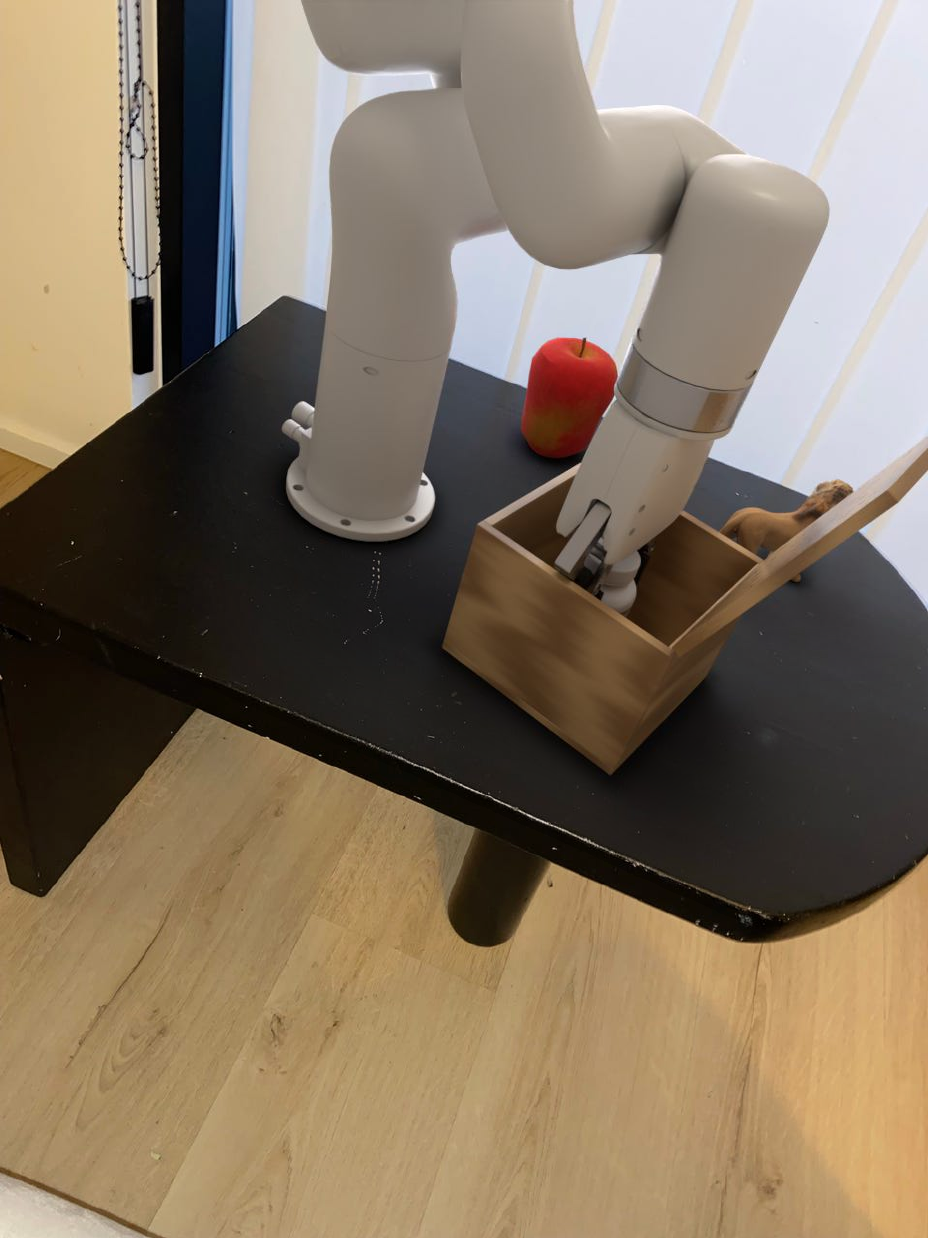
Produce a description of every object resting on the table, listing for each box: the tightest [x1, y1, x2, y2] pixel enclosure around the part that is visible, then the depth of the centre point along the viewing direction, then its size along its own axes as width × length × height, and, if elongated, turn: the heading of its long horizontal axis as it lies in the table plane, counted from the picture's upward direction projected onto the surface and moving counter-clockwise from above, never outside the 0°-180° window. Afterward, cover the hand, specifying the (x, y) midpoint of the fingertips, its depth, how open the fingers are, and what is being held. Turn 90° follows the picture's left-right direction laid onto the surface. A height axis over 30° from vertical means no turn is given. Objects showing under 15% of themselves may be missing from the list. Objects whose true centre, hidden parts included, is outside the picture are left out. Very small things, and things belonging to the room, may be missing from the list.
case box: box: [441, 462, 765, 776], centre depth 68 cm, size 15×14×12 cm
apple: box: [520, 336, 619, 459], centre depth 89 cm, size 9×8×12 cm
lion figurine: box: [718, 478, 855, 583], centre depth 83 cm, size 15×5×9 cm, turn 116°
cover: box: [672, 435, 928, 657], centre depth 55 cm, size 16×14×1 cm
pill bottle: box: [584, 538, 641, 618], centre depth 68 cm, size 5×5×10 cm
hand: (590, 602), depth 68 cm, fingers closed on pill bottle, 5 cm apart
